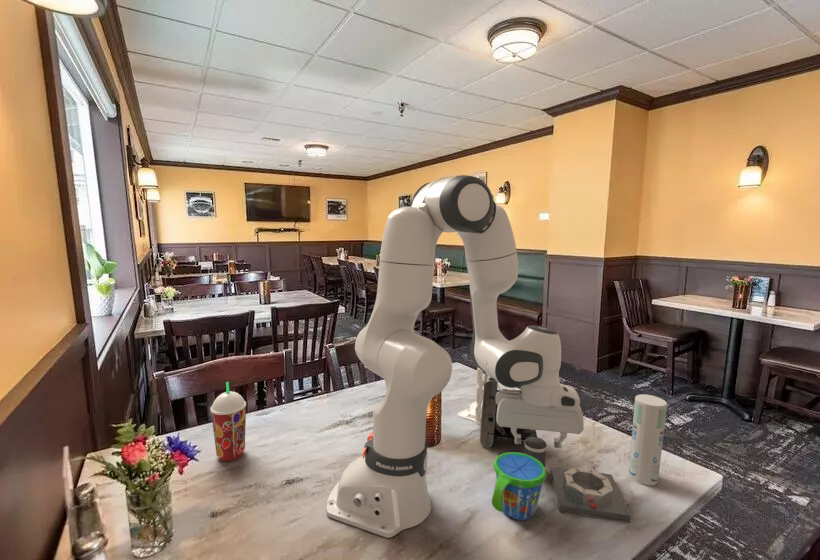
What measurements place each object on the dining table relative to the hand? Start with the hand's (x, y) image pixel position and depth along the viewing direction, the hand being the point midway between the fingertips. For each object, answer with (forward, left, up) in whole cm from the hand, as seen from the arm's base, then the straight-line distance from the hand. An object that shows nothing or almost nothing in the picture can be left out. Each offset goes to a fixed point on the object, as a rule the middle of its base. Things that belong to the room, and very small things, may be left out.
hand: (537, 444), depth 97 cm
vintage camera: (-7, +12, -7) cm, 16 cm away
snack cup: (-5, -15, -7) cm, 17 cm away
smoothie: (-78, -12, -7) cm, 79 cm away
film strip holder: (-14, +27, -7) cm, 31 cm away
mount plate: (+10, -7, -7) cm, 14 cm away
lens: (-1, -1, -7) cm, 7 cm away
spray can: (+25, +3, -7) cm, 27 cm away
